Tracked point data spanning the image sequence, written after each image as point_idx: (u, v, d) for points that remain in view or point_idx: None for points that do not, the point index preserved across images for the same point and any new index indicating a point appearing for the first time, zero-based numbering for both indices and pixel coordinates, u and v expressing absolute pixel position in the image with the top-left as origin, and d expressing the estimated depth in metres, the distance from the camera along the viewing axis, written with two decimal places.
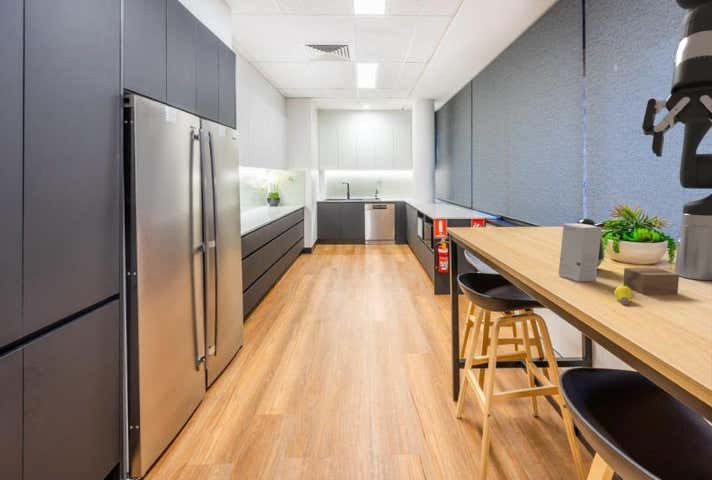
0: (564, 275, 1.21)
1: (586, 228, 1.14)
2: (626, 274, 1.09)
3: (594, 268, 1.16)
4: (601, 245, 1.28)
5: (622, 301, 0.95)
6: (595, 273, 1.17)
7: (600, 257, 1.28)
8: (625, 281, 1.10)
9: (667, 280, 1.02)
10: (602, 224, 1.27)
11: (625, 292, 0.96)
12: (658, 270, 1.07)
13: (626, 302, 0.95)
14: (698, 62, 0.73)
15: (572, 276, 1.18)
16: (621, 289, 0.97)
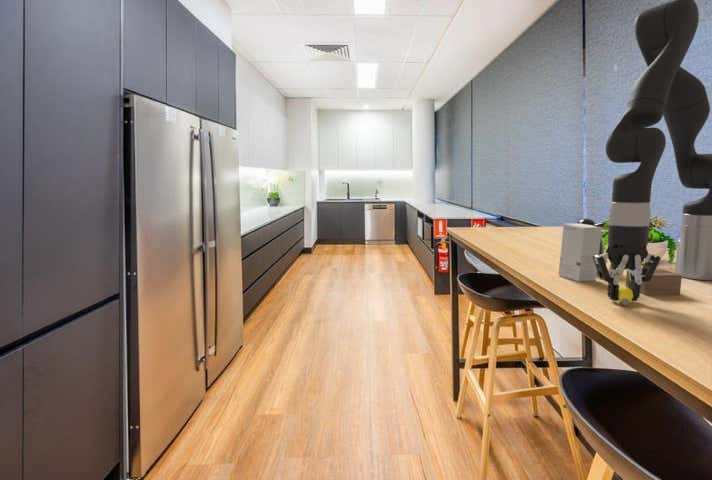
0: (564, 275, 1.21)
1: (586, 228, 1.14)
2: (628, 274, 1.09)
3: (594, 268, 1.16)
4: (601, 245, 1.28)
5: (623, 302, 0.94)
6: (595, 273, 1.17)
7: None
8: (627, 281, 1.10)
9: (670, 281, 1.02)
10: (602, 224, 1.27)
11: (626, 293, 0.95)
12: (661, 270, 1.06)
13: (627, 303, 0.93)
14: (638, 231, 0.91)
15: (572, 276, 1.18)
16: (621, 290, 0.96)
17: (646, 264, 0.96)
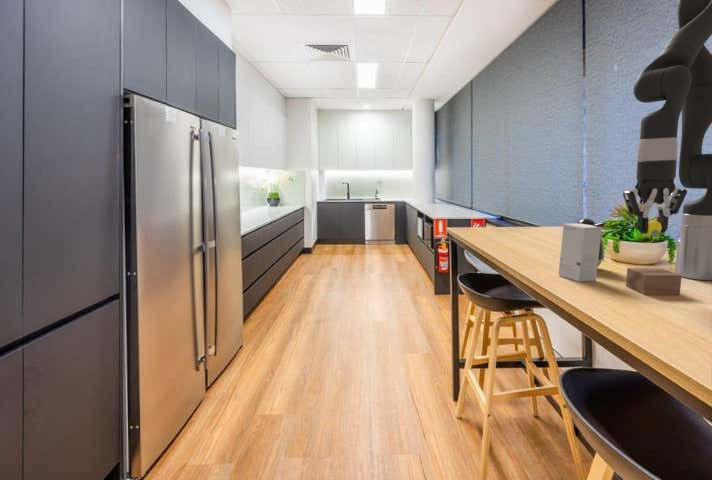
0: (564, 275, 1.21)
1: (586, 228, 1.14)
2: (629, 274, 1.09)
3: (594, 268, 1.16)
4: (601, 245, 1.28)
5: (653, 233, 1.00)
6: (595, 273, 1.17)
7: (600, 257, 1.28)
8: (628, 281, 1.10)
9: (669, 281, 1.02)
10: (602, 224, 1.27)
11: (655, 225, 1.01)
12: (661, 270, 1.06)
13: (657, 234, 0.99)
14: (667, 165, 0.97)
15: (572, 276, 1.18)
16: (651, 223, 1.02)
17: (673, 198, 1.02)
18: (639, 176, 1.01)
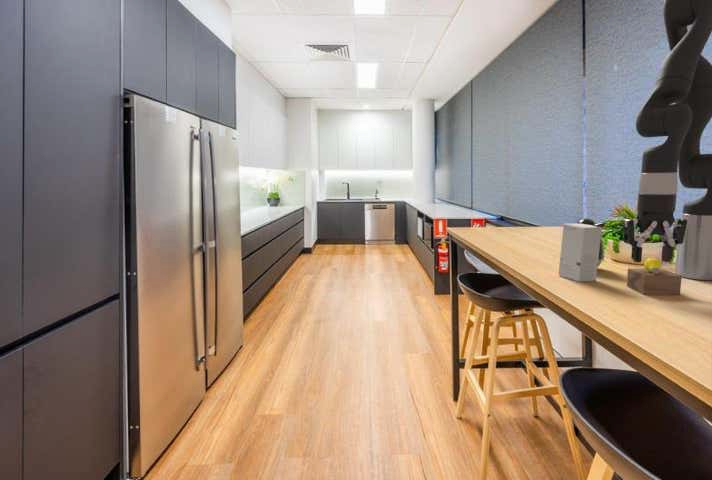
0: (564, 275, 1.21)
1: (586, 228, 1.14)
2: (629, 275, 1.09)
3: (594, 268, 1.16)
4: (601, 245, 1.28)
5: (653, 271, 1.03)
6: (595, 273, 1.17)
7: (600, 257, 1.28)
8: (628, 282, 1.10)
9: (669, 281, 1.02)
10: (602, 224, 1.27)
11: (655, 263, 1.04)
12: (662, 271, 1.06)
13: (657, 272, 1.02)
14: (667, 199, 1.00)
15: (572, 276, 1.18)
16: (651, 261, 1.05)
17: (675, 228, 1.05)
18: (639, 208, 1.04)
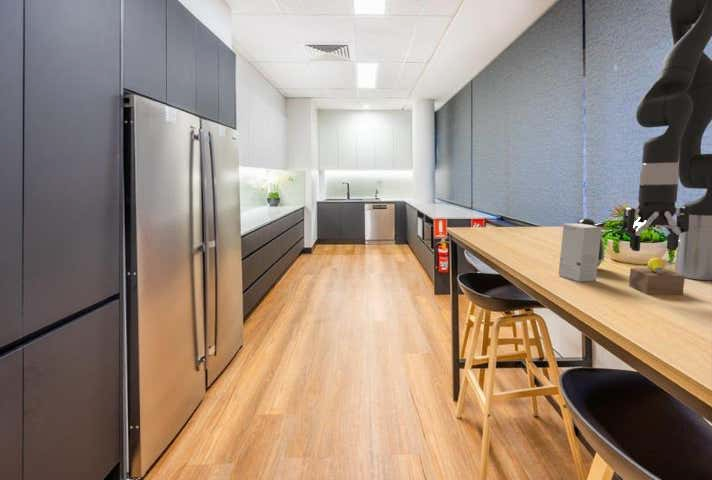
0: (564, 275, 1.21)
1: (586, 228, 1.14)
2: (632, 274, 1.09)
3: (594, 268, 1.16)
4: (601, 245, 1.28)
5: (657, 271, 1.03)
6: (595, 273, 1.17)
7: (600, 257, 1.28)
8: (631, 281, 1.10)
9: (672, 281, 1.02)
10: (602, 224, 1.27)
11: (659, 263, 1.04)
12: (664, 271, 1.07)
13: (661, 271, 1.02)
14: (668, 189, 1.00)
15: (572, 276, 1.18)
16: (654, 260, 1.05)
17: (678, 217, 1.05)
18: (641, 199, 1.04)
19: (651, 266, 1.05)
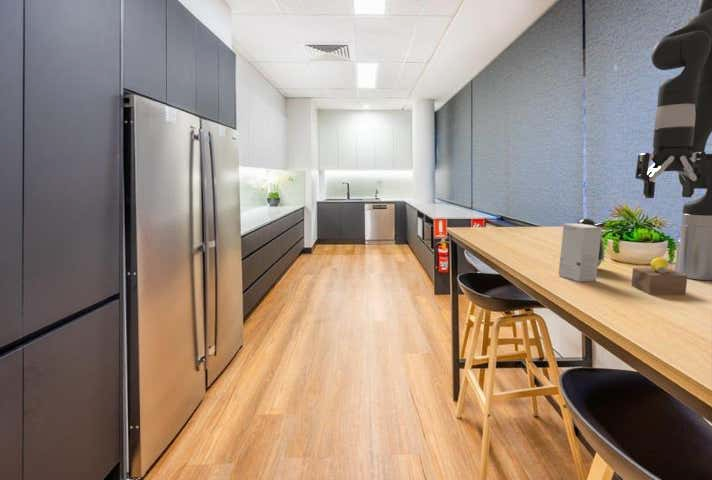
0: (564, 275, 1.21)
1: (586, 228, 1.14)
2: (634, 274, 1.10)
3: (594, 268, 1.16)
4: (601, 245, 1.28)
5: (659, 271, 1.03)
6: (595, 273, 1.17)
7: (600, 257, 1.28)
8: (633, 281, 1.10)
9: (675, 281, 1.02)
10: (602, 224, 1.27)
11: (662, 263, 1.04)
12: (667, 271, 1.07)
13: (663, 271, 1.02)
14: (684, 131, 0.97)
15: (572, 276, 1.18)
16: (657, 260, 1.05)
17: (694, 163, 1.01)
18: (656, 144, 1.01)
19: (654, 266, 1.05)
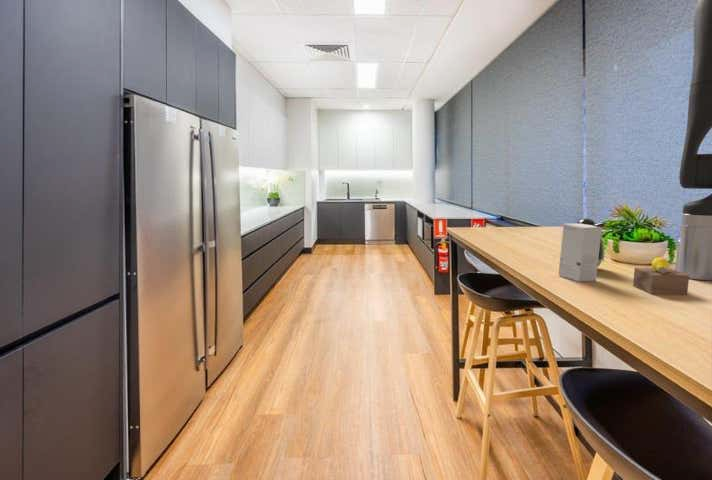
0: (564, 275, 1.21)
1: (586, 228, 1.14)
2: (636, 274, 1.10)
3: (594, 268, 1.16)
4: (601, 245, 1.28)
5: (660, 270, 1.03)
6: (595, 273, 1.17)
7: (600, 257, 1.28)
8: (635, 281, 1.10)
9: (677, 281, 1.02)
10: (602, 224, 1.27)
11: (662, 262, 1.04)
12: (669, 270, 1.07)
13: (664, 271, 1.03)
14: None
15: (572, 276, 1.18)
16: (658, 260, 1.05)
17: None
18: None
19: (655, 266, 1.05)
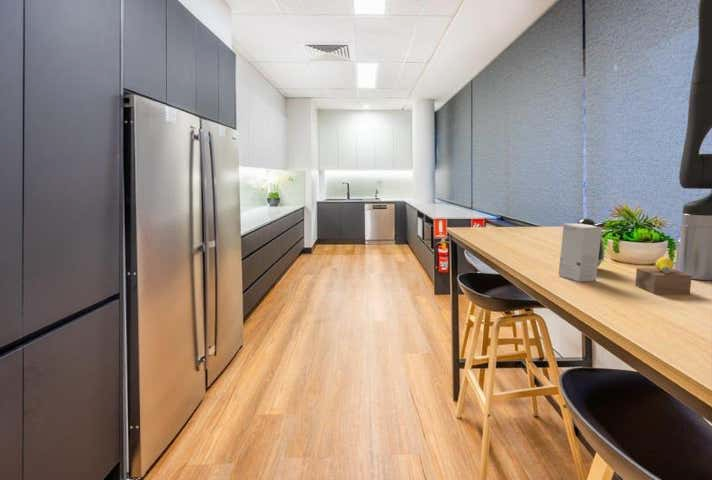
0: (564, 275, 1.21)
1: (586, 228, 1.14)
2: (638, 274, 1.10)
3: (594, 268, 1.16)
4: (601, 245, 1.28)
5: (663, 270, 1.03)
6: (595, 273, 1.17)
7: (600, 257, 1.28)
8: (637, 281, 1.10)
9: (679, 281, 1.02)
10: (602, 224, 1.27)
11: (666, 263, 1.04)
12: (671, 271, 1.07)
13: (667, 271, 1.03)
14: None
15: (572, 276, 1.18)
16: (662, 260, 1.05)
17: None
18: None
19: (659, 266, 1.06)
